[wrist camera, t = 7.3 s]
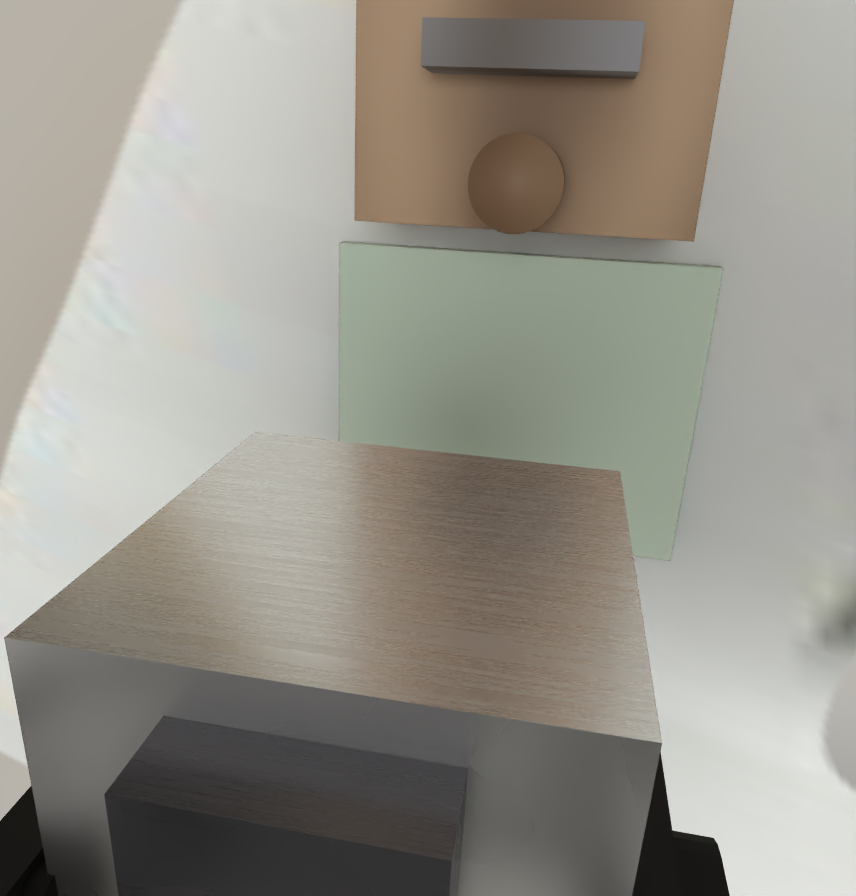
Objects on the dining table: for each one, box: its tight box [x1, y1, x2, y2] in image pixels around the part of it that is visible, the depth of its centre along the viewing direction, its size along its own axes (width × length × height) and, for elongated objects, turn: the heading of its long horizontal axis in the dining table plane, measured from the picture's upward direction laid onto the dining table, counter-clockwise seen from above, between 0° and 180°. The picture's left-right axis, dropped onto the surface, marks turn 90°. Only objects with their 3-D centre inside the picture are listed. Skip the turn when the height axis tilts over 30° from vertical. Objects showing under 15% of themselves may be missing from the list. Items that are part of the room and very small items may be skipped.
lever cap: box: [4, 432, 662, 896], centre depth 9 cm, size 5×8×6 cm, turn 177°
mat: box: [339, 242, 723, 561], centre depth 25 cm, size 12×10×1 cm
